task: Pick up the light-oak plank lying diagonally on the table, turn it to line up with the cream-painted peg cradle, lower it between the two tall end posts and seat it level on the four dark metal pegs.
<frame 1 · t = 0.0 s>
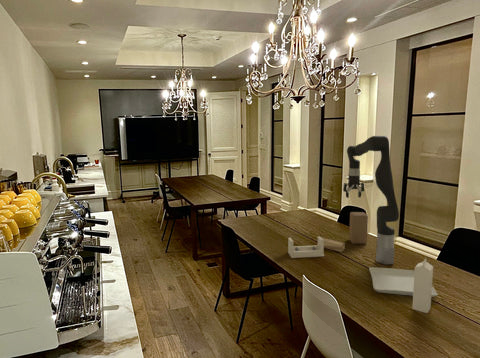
hand: (353, 197, 241), 29 cm above the table, fingers open, 8 cm apart
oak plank: (332, 248, 224), on the table
wooden block: (357, 242, 236), on the table
milk: (421, 308, 149), on the table
square plate: (399, 286, 171), on the table
peg cradle: (305, 254, 215), on the table
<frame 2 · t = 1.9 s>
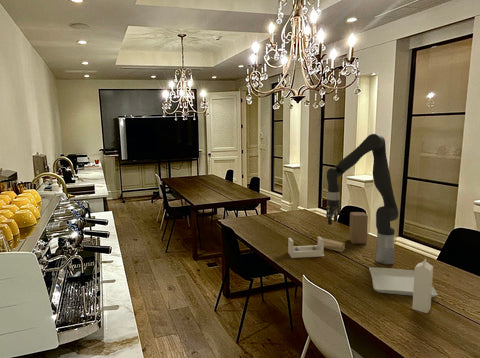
hand: (332, 223, 222), 17 cm above the table, fingers open, 8 cm apart
nothing on the table moved.
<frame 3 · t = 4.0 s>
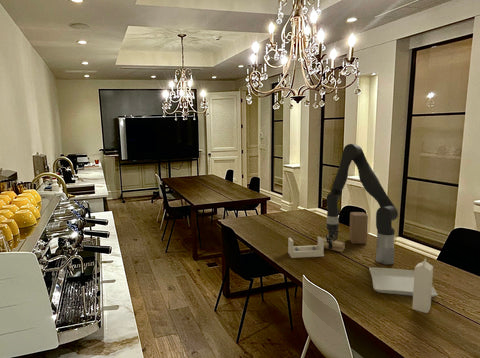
hand: (331, 247, 224), 0 cm above the table, fingers closed on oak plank, 4 cm apart
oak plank: (332, 248, 224), on the table, touching gripper
everything else where it was.
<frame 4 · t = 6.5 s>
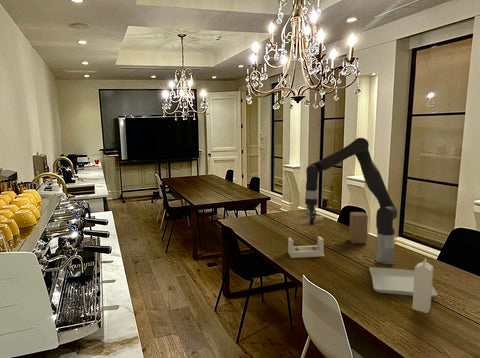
hand: (310, 223, 215), 19 cm above the table, fingers closed on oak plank, 4 cm apart
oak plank: (310, 224, 215), point 18 cm above the table, touching gripper
everything else where it was.
when the fingers open (6 cm above the table, at t = 9.3 s): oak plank drops 1 cm, resting on peg cradle.
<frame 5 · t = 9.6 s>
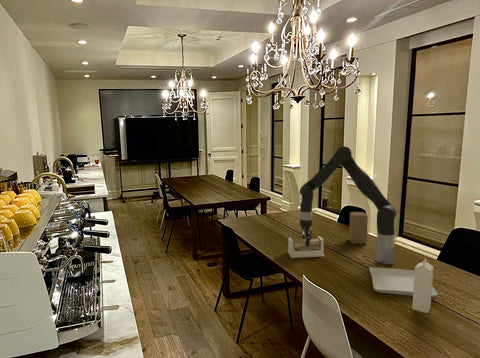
hand: (305, 244, 214), 7 cm above the table, fingers open, 7 cm apart
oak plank: (305, 247, 214), point 4 cm above the table, touching peg cradle
everything else where it was.
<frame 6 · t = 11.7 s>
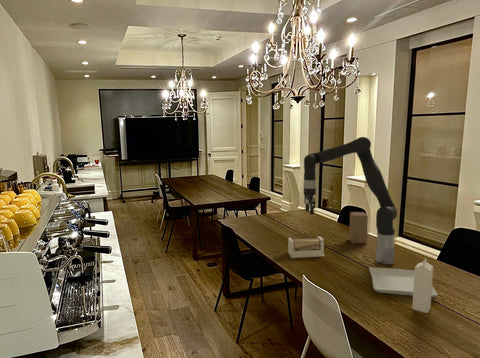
hand: (309, 212, 214), 26 cm above the table, fingers open, 8 cm apart
nothing on the table moved.
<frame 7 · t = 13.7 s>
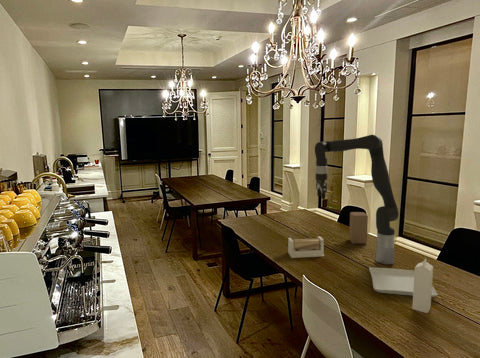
hand: (321, 197, 225), 33 cm above the table, fingers open, 8 cm apart
nothing on the table moved.
at the end: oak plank 0.1 cm off-centre on the peg cradle, point 4.2 cm above the peg cradle's base; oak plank tilted 0°; the gripper is holding nothing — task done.
